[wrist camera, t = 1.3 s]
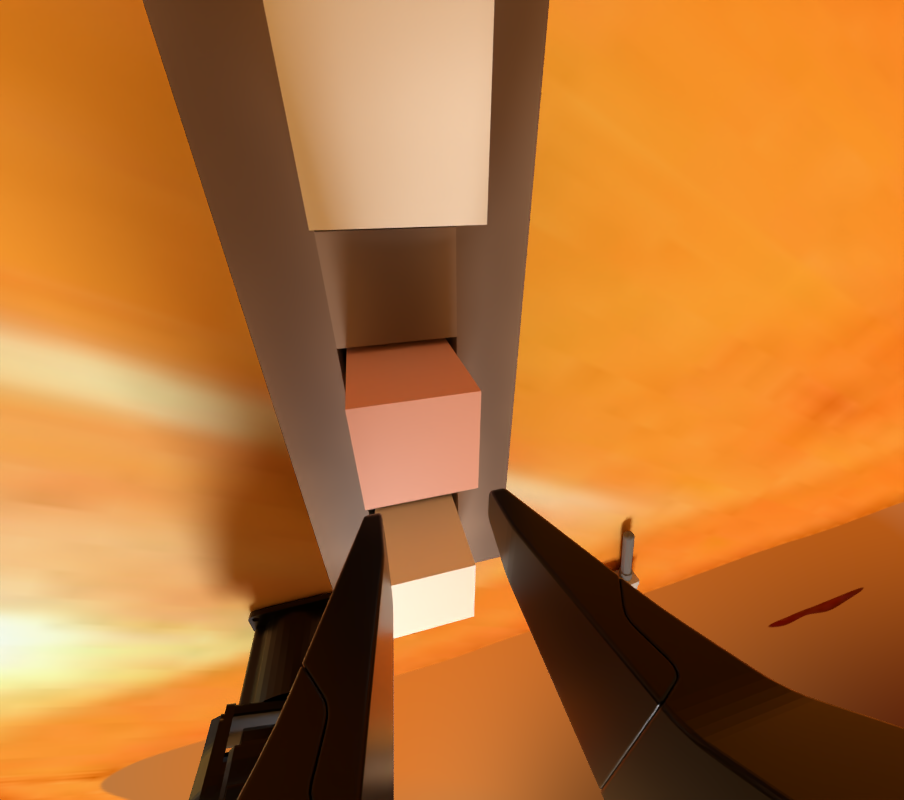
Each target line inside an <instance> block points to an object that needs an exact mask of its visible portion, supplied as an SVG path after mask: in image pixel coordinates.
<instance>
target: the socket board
mask: <svg viewBox="0 0 904 800" xmlns="http://www.w3.org/2000/svg"><path fill="white" fill-rule="evenodd" d="M143 3H144V6H145V9H146V12H147V15H148V18H149V22H150V25H151V28H152V31H153V34H154V37H155V40H156V43H157V46H158V49H159V53H160V56H161V59H162V62H163V65H164V68H165V71H166V74H167V77H168V80H169V84H170V87H171V90H172V93H173V96H174V99H175V102H176V105H177V108H178V112H179V115H180V118H181V121H182V124H183V127H184V130H185V133H186V136H187V139H188V143H189V146H190V149H191V152H192V155H193V158H194V161H195V164H196V167H197V170H198V174H199V177H200V180H201V183H202V186H203V189H204V192H205V195H206V198H207V201H208V205H209V208H210V211H211V214H212V217H213V220H214V223H215V226H216V229H217V232H218V236H219V239H220V242H221V245H222V248H223V251H224V254H225V257H226V260H227V263H228V267H229V270H230V273H231V276H232V279H233V282H234V285H235V288H236V291H237V295H238V298H239V301H240V304H241V307H242V310H243V313H244V316H245V319H246V322H247V326H248V329H249V332H250V335H251V338H252V341H253V344H254V347H255V350H256V353H257V357H258V360H259V363H260V366H261V369H262V372H263V375H264V378H265V381H266V384H267V388H268V391H269V394H270V397H271V400H272V403H273V406H274V409H275V412H276V415H277V419H278V422H279V425H280V428H281V431H282V434H283V437H284V440H285V443H286V446H287V450H288V453H289V456H290V459H291V462H292V465H293V468H294V471H295V474H296V477H297V481H298V484H299V487H300V490H301V493H302V496H303V499H304V502H305V505H306V509H307V512H308V515H309V518H310V521H311V524H312V527H313V530H314V533H315V536H316V540H317V543H318V546H319V549H320V552H321V555H322V558H323V561H324V564H325V567H326V571H327V574H328V577H329V580H330V583H331V586H332V589H334V587H335V584H336V582H337V580H338V577H339V575H340V573H341V570H342V568H343V565H344V563H345V561H346V558H347V556H348V554H349V551H350V549H351V546H352V544H353V542H354V539H355V537H356V535H357V532H358V530H359V528H360V525H361V523H362V520H363V518H364V517H365V516H367V515H371V514H375V509H376V508H374V509H369V510H365V507H364V502H363V497H362V492H361V487H360V482H359V477H358V472H357V467H356V462H355V457H354V452H353V447H352V442H351V437H350V432H349V427H348V422H347V417H346V412H345V393H346V356H347V348H350V347H360V346H370V345H380V344H390V343H400V342H409V341H419V340H429V339H439V338H445V339H446V340H447V341H448V343H449V344H450V346H451V347H452V349H453V350H454V352H455V353H456V355H457V356H458V358H459V359H460V360H461V362H462V363H463V365H464V366H465V368H466V369H467V371H468V372H469V374H470V375H471V377H472V378H473V379H474V381H475V382H476V384H477V385H478V387H479V388H480V390H481V418H480V448H479V478H478V488H475V489H470V490H465V491H460V492H455V493H450V494H451V495H452V498H453V501H454V504H455V506H456V509H457V512H458V515H459V518H460V521H461V524H462V527H463V530H464V533H465V536H466V539H467V542H468V544H469V547H470V550H471V553H472V556H473V559H474V562H475V563H476V562H480V561H485V560H489V559H493V558H497V557H500V553H499V550H498V547H497V544H496V541H495V537H494V534H493V531H492V528H491V525H490V521H489V517H488V503H489V493H490V491H492V490H496V489H501V488H504V489H506V481H507V470H508V459H509V447H510V436H511V425H512V413H513V402H514V391H515V380H516V368H517V357H518V346H519V335H520V323H521V312H522V301H523V290H524V278H525V267H526V256H527V245H528V233H529V222H530V211H531V199H532V188H533V177H534V166H535V154H536V143H537V132H538V121H539V109H540V98H541V87H542V76H543V64H544V53H545V42H546V31H547V19H548V8H549V0H494V30H493V60H492V90H491V119H490V149H489V179H488V209H487V225H463V226H433V227H403V228H372V229H342V230H312V231H309V228H308V223H307V218H306V213H305V208H304V203H303V198H302V193H301V188H300V183H299V178H298V173H297V168H296V163H295V158H294V153H293V148H292V143H291V138H290V133H289V128H288V123H287V118H286V113H285V108H284V103H283V98H282V93H281V88H280V84H279V79H278V74H277V69H276V64H275V59H274V54H273V49H272V44H271V39H270V34H269V29H268V24H267V19H266V14H265V9H264V4H263V0H143ZM445 495H447V494H445ZM440 496H442V495H440ZM435 497H436V496H435ZM430 498H431V497H430ZM425 499H426V498H425ZM420 500H421V499H420ZM415 501H416V500H415ZM410 502H411V501H410ZM405 503H406V502H405ZM399 504H401V503H399ZM394 505H396V504H394ZM389 506H391V505H389ZM384 507H386V506H384ZM379 508H381V507H379Z"/></svg>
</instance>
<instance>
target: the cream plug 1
mask: <svg viewBox="0 0 904 800" xmlns="http://www.w3.org/2000/svg"><path fill="white" fill-rule="evenodd" d="M263 4H264V9H265V14H266V19H267V24H268V29H269V34H270V39H271V44H272V49H273V54H274V59H275V64H276V69H277V74H278V79H279V84H280V88H281V93H282V98H283V103H284V108H285V113H286V118H287V123H288V128H289V133H290V138H291V143H292V148H293V153H294V158H295V163H296V168H297V173H298V178H299V183H300V188H301V193H302V198H303V203H304V208H305V213H306V218H307V223H308V228H309V231H312V230H342V229H372V228H403V227H433V226H463V225H487V209H488V179H489V149H490V119H491V90H492V60H493V30H494V0H263Z"/></svg>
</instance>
